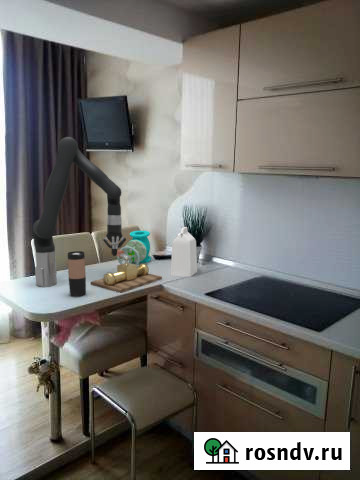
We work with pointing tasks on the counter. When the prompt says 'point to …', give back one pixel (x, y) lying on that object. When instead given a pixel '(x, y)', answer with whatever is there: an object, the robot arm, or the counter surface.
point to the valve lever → (122, 254)
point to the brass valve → (125, 273)
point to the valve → (137, 248)
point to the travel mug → (77, 273)
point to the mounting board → (128, 283)
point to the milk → (184, 254)
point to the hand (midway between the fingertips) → (114, 255)
